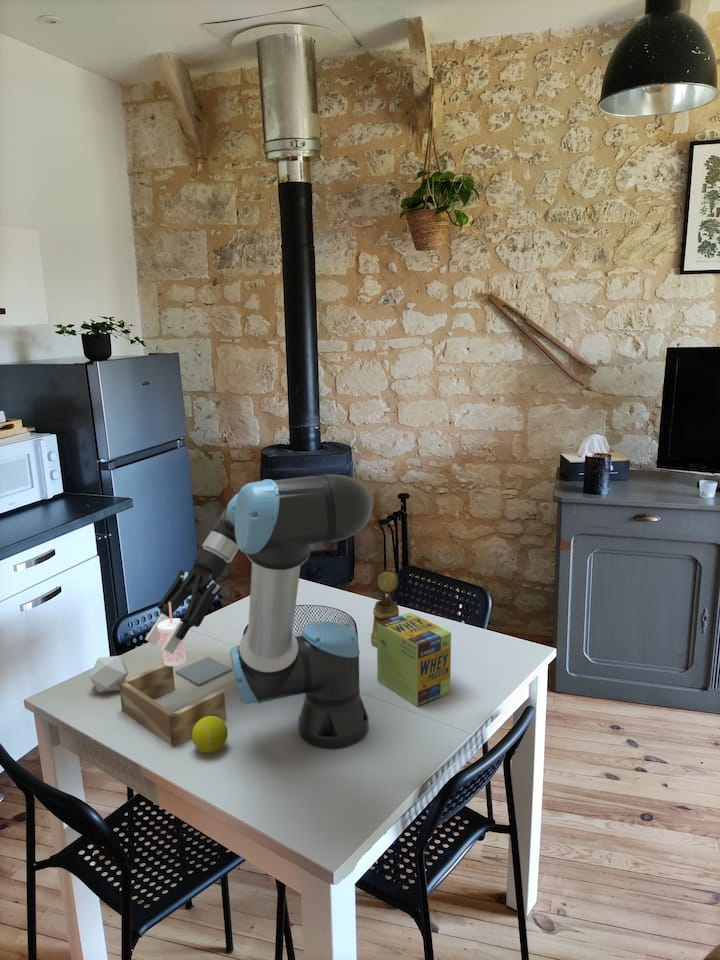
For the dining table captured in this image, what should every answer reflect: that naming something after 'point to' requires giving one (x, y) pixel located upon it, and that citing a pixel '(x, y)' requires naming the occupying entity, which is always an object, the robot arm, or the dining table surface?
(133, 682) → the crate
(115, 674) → the die
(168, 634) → the beverage cup
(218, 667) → the coaster
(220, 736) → the tennis ball
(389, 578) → the gold trophy
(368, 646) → the dining table surface
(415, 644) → the protein box
